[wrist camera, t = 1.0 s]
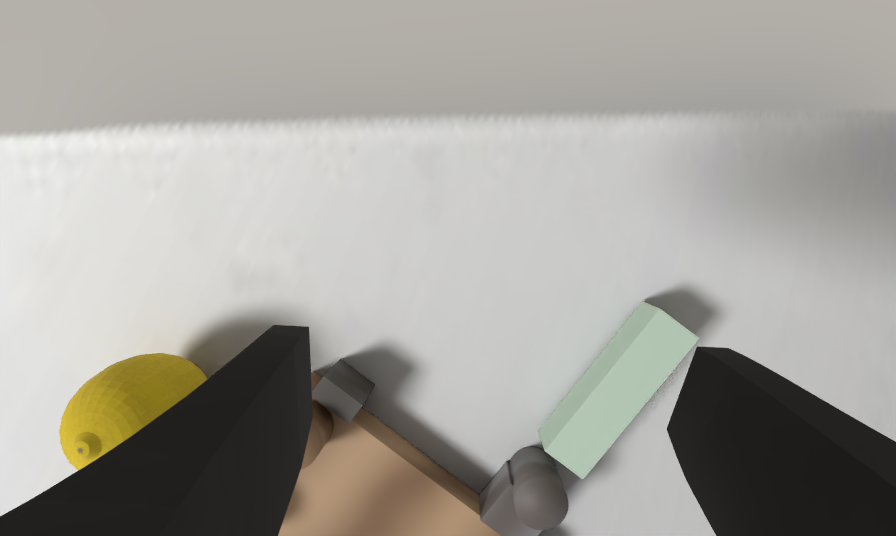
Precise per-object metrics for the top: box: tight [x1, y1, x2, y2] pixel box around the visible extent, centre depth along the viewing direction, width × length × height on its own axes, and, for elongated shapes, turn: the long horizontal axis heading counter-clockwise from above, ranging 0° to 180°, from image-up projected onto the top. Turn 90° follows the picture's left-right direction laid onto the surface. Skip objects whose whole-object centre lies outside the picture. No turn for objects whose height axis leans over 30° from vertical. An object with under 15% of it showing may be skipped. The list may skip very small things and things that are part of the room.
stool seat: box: [278, 359, 568, 536], centre depth 25 cm, size 16×13×4 cm
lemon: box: [60, 353, 207, 470], centre depth 24 cm, size 6×6×8 cm
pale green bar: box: [538, 301, 700, 479], centre depth 25 cm, size 9×2×2 cm, turn 143°
